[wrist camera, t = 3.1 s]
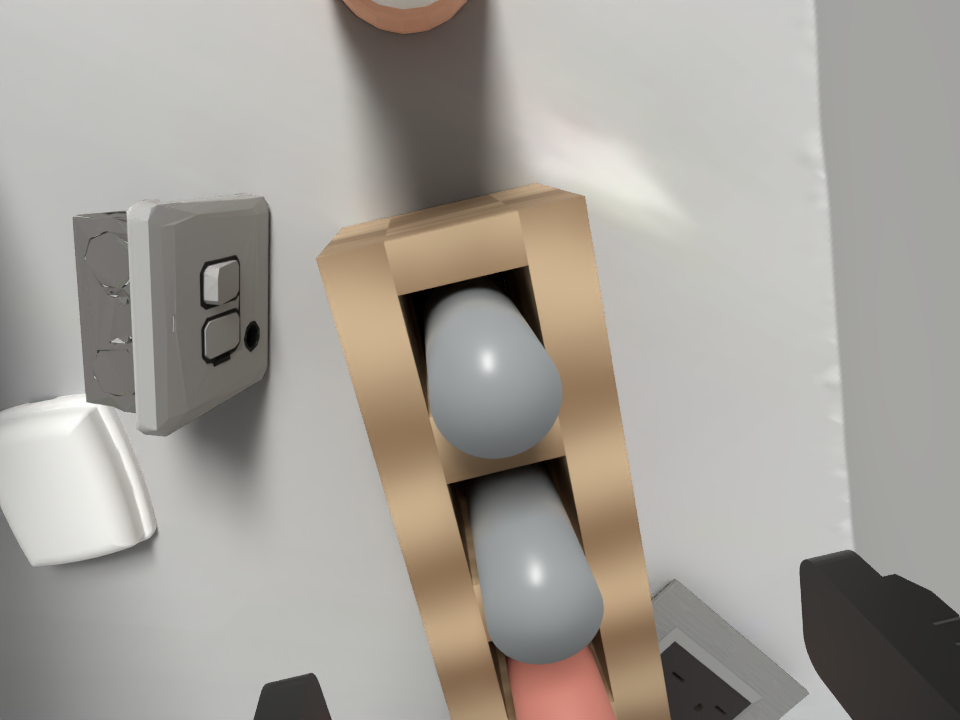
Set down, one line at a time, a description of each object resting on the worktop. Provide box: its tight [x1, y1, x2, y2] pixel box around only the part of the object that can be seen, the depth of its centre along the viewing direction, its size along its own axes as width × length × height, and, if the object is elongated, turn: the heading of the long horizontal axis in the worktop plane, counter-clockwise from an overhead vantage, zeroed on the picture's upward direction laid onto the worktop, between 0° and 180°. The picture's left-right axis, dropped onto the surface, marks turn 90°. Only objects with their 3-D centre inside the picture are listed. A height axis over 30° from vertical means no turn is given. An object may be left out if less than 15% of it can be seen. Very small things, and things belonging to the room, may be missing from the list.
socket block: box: [316, 183, 671, 720], centre depth 33 cm, size 25×10×10 cm, turn 12°
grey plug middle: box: [464, 461, 604, 664], centre depth 28 cm, size 4×4×10 cm
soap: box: [0, 394, 157, 567], centre depth 36 cm, size 9×7×3 cm
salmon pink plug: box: [504, 644, 616, 720], centre depth 30 cm, size 4×4×10 cm
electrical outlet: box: [651, 579, 809, 720], centre depth 44 cm, size 13×10×2 cm
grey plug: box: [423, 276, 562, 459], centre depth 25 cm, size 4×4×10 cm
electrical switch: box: [73, 193, 269, 436], centre depth 30 cm, size 9×5×9 cm, turn 174°
